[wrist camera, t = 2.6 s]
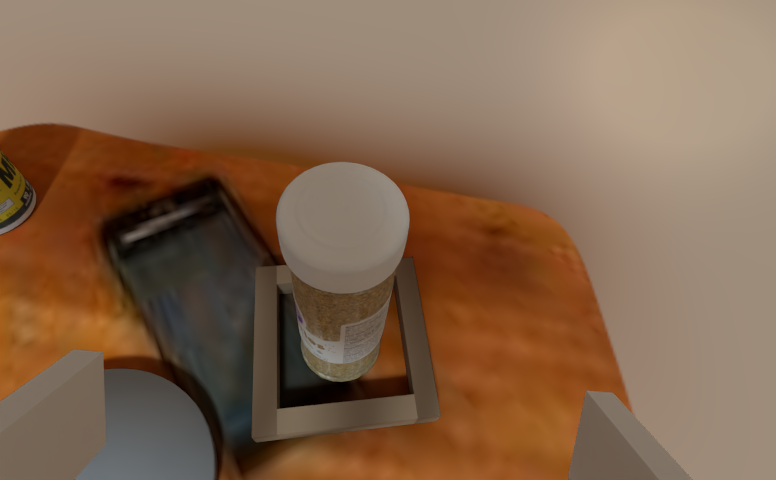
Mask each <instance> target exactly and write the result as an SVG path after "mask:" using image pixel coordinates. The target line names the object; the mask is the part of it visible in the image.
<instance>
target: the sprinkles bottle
mask: <svg viewBox="0 0 776 480" xmlns="http://www.w3.org/2000/svg"><path fill="white" fill-rule="evenodd" d="M409 222H410V217H409V209H408V205H407V202H406V199H405V197H404V195H403V194H402V192H401V190H400V189H399V188H398V186H397V185H396V184H395V183H394V182H393V181H392V180H391V179H390V178H388V177H387V176H386V175H384V174H383V173H381V172H379V171H377V170H376V169H374V168H371V167H369V166H365V165H362V164H358V163H351V162H333V163H327V164H322V165H319V166H316V167H313V168H311V169H309V170H307V171H305V172H303V173H302V174H300V175H299V176H297V177H296V178H295V179H294V180H293V181H292V182H291V183H290V184H289V185H288V186H287V187H286V189H285V190H284V192H283V194H282V195H281V198H280V200H279V203H278V206H277V211H276V225H277V233H278V239H279V244H280V248H281V252H282V255H283V258H284V260H285V262H286V263H287V265H288V267H289V268H290V271H291V277H292V283H293V296H294V301H295V306H296V312H297V319H298V326H299V331H300V335H301V350H302V353H303V358H304V360H305V361H306V363H307V365H308V366H309V368H310V369H311V370H312V371H314V372H315V373H316V374H317V375H319V376H320V377H321V378H324V379H327V380H330V381H339V382H343V381H350V380H354V379H357V378H359V377H360V376H361V375H363V374H365V373H366V372H367V371H368V370H369V369H370V368H371V367H372V366H373V364H374V363H375V361H376V360H377V358H378V354H379V349H380V338H381V336H382V333H383V329H384V325H385V320H386V316H387V312H388V307H389V303H390V298H391V294H392V289H393V282H394V278H393V277H394V274H395V269H396V267H397V266H398V264H399V263H400V261H401V259H402V256H403V253H404V249H405V245H406V241H407V236H408V230H409Z"/></svg>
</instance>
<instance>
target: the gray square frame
mask: <svg viewBox="0 0 776 480" xmlns="http://www.w3.org/2000/svg"><path fill="white" fill-rule="evenodd" d="M393 278H394V282H393V286H394V290H395V297H396V303H397V310H398V317H399V324H400V331H401V338H402V344H403V351H404V358H405V365H406V372H407V379H408V385H409V392H410V395H403V396H393V397H384V398H375V399H366V400H356V401H347V402H338V403H329V404H319V405H310V406H301V407H292V408H282V409H280V321H279V294H290V293H293V283H292V277H291V271H290V268H289V267H288V265H280V266H265V267H256V280H255V322H254V364H253V406H252V438H253V439H254V441H255V442H262V441H271V440H279V439H288V438H296V437H305V436H314V435H322V434H331V433H339V432H348V431H356V430H365V429H373V428H382V427H390V426H399V425H407V424H416V423H424V422H433V421H437V419H438V418H439V417H440V416H441V414H440V408H439V403H438V397H437V391H436V386H435V380H434V374H433V369H432V363H431V357H430V351H429V346H428V340H427V334H426V329H425V323H424V317H423V312H422V306H421V300H420V295H419V289H418V283H417V278H416V272H415V266H414V261H413V257H402V259H401V261H400V263H399V264H398V266H397V267H396V269H395V274H394V277H393Z"/></svg>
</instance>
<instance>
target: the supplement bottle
mask: <svg viewBox="0 0 776 480" xmlns="http://www.w3.org/2000/svg"><path fill="white" fill-rule="evenodd" d="M35 204H36V193H35V191H34V189H33V187H32V186H31V184H30V183H29V182H28V181H27V180H26V178H25V177H24V176H23V175H22V174H21V173H20V172H19V171H18V170H17V168H16V167H15V166H14V165H13V164H12V162H11V161H10V160H9V159H8V158H7V157H6V156H5V155H4V153H3V152H2V151H1V150H0V235H1V234H3V233H6V232H8V231H10V230H12V229H14V228H15V227H17V226H18V225H20V224H21V223H22V222H23V221H25V220H26V219H27V218H28V217H29V215H30V214H31V213H32V211H33V209H34V207H35Z"/></svg>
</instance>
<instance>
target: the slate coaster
mask: <svg viewBox="0 0 776 480" xmlns="http://www.w3.org/2000/svg"><path fill="white" fill-rule="evenodd" d="M104 390H105V420H106V444H105V445H104V446H103V448H102V449H101V450H100V451H99V452H98V453H97V454H96V456H95V457H94V458H93V459H92V460H91V461H90V462H89V463H88V465H87V466H86V467H85V468H84V469H83V470H82V471H81V473H80V474H79V475H78V476H77V477H76V478H75V479H74V480H217V477H218V458H217V451H216V444H215V440H214V437H213V433H212V430H211V428H210V425H209V423H208V421H207V419H206V417H205V415H204V414H203V412H202V411H201V409H200V408H199V406H198V405H197V404H196V403H195V402H194V401H193V400H192V399H191V397H190V396H188V395H187V394H186V393H185V392H184V391H183V390H181V389H180V388H179V387H178V386H177V385H175V384H174V383H172V382H170V381H168V380H167V379H165V378H163V377H161V376H158V375H155V374H153V373H150V372H145V371H141V370H135V369H124V368H123V369H105V370H104Z"/></svg>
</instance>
